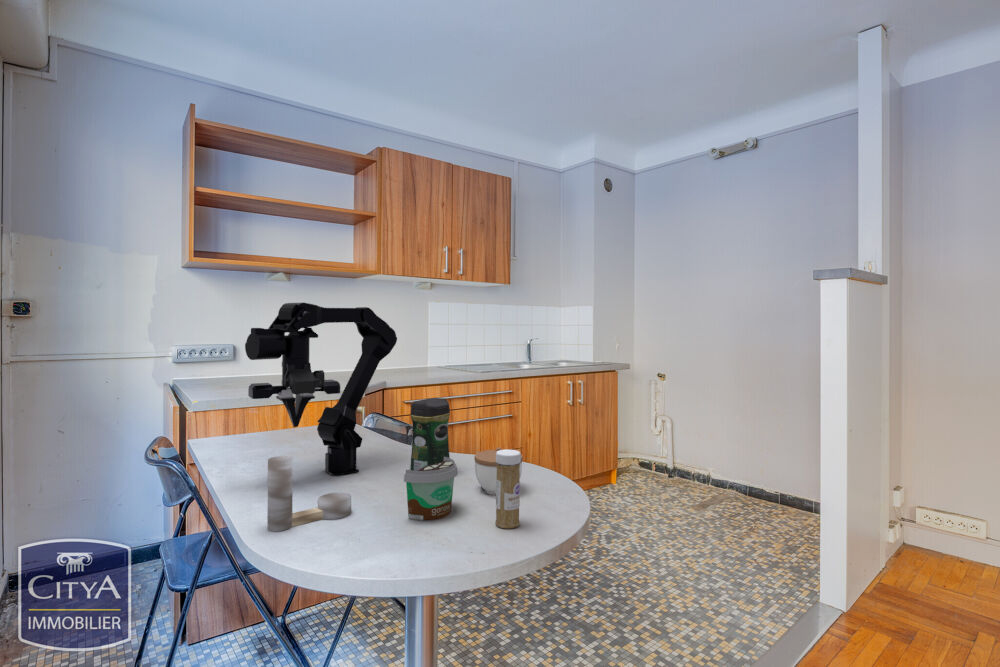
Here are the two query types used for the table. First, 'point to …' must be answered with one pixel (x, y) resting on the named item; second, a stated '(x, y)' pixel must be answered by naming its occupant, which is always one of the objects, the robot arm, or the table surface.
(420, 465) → the coffee jar
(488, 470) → the lidded jar
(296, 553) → the table surface
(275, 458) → the crank handle
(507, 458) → the sprinkles bottle
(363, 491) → the table surface
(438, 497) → the food container
